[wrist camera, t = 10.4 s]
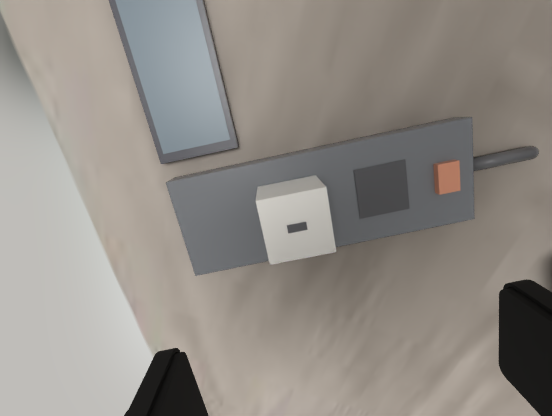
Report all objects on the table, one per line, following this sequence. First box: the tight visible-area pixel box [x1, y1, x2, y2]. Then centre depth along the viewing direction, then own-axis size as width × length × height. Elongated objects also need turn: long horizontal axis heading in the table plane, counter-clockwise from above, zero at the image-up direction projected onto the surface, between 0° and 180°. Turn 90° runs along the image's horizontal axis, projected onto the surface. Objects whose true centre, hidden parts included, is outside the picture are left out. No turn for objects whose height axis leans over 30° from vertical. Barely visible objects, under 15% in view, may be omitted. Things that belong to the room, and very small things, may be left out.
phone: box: [109, 0, 239, 164], centre depth 25 cm, size 7×14×1 cm, turn 12°
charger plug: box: [256, 175, 336, 265], centre depth 24 cm, size 5×5×7 cm
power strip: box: [166, 117, 539, 276], centre depth 27 cm, size 33×9×3 cm, turn 102°
